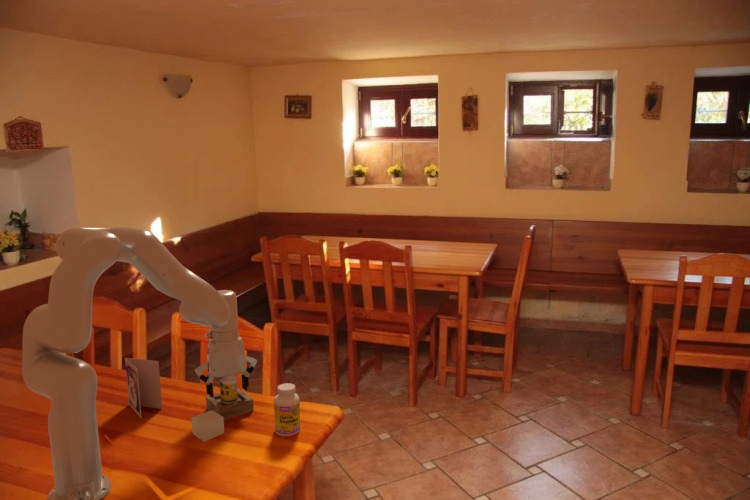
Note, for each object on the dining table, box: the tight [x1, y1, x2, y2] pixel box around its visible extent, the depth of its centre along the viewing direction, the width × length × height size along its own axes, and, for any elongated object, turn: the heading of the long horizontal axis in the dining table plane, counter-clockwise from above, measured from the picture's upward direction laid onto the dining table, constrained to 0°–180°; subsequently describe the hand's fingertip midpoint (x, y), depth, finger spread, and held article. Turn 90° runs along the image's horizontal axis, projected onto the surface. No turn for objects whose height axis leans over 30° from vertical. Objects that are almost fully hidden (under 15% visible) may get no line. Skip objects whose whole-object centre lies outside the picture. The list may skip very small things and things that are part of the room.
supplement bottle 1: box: [219, 374, 239, 404], centre depth 169 cm, size 5×5×8 cm
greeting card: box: [123, 357, 163, 419], centre depth 172 cm, size 11×7×15 cm, turn 39°
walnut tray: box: [205, 387, 255, 422], centre depth 170 cm, size 10×10×5 cm
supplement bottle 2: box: [273, 382, 301, 437], centre depth 157 cm, size 7×7×13 cm
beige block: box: [190, 410, 225, 443], centre depth 157 cm, size 6×6×5 cm
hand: (228, 392), depth 169 cm, fingers open, 9 cm apart
